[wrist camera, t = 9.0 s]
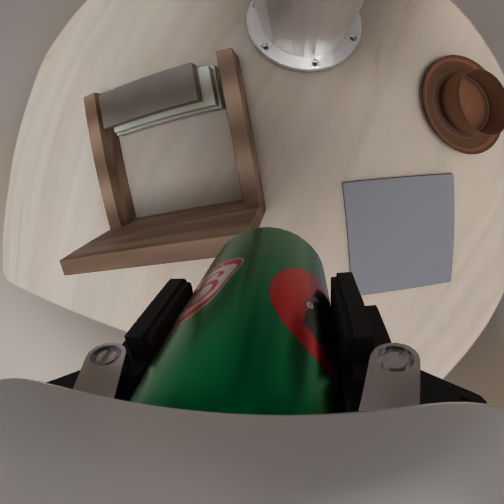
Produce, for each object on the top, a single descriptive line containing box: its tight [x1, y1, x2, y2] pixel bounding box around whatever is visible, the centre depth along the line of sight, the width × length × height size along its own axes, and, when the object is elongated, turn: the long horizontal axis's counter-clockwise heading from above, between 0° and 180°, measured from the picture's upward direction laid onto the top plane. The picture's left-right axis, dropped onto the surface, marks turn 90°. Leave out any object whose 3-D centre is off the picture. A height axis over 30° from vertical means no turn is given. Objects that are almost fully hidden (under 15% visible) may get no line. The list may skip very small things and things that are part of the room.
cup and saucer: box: [423, 55, 504, 154], centre depth 25 cm, size 12×12×6 cm
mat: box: [342, 173, 454, 295], centre depth 34 cm, size 14×14×1 cm
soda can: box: [128, 227, 346, 415], centre depth 9 cm, size 5×5×12 cm
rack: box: [60, 48, 266, 275], centre depth 28 cm, size 18×18×14 cm
